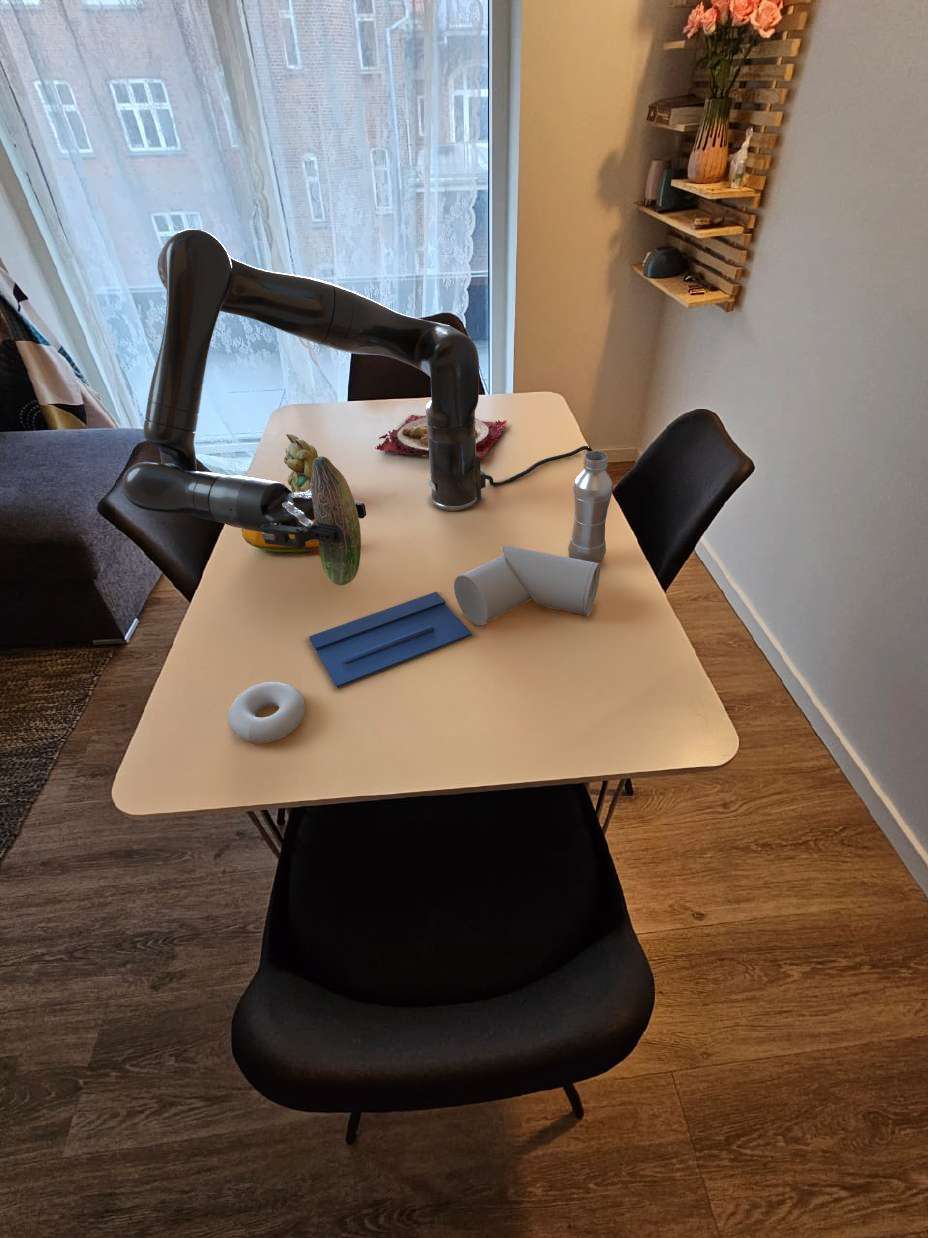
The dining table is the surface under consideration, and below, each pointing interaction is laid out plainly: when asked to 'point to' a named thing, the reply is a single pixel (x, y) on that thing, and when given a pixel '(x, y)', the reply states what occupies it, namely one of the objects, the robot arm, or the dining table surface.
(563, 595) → the elbow connector
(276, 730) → the donut
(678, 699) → the dining table surface
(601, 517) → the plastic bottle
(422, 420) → the plate with food
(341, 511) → the vegetable
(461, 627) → the blue rectangular panel
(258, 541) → the corn
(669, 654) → the dining table surface
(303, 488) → the decorative figurine
